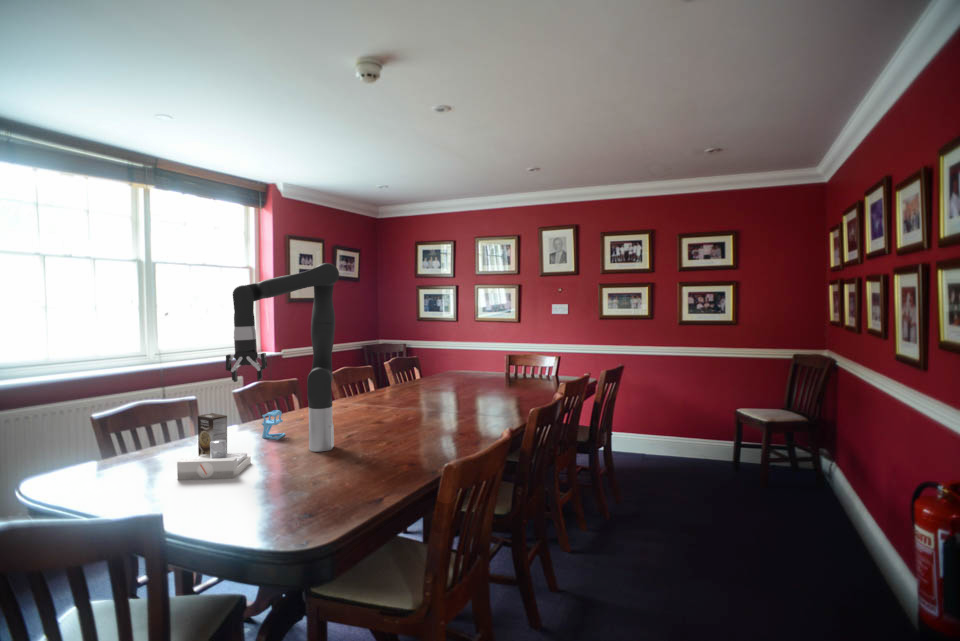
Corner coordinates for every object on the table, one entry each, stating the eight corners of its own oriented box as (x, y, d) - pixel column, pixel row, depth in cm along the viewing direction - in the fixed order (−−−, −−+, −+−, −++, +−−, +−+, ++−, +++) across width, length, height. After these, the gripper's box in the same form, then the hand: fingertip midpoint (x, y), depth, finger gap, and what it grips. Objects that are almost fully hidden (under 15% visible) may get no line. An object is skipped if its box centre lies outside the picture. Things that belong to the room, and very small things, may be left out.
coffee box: (197, 457, 191) (196, 415, 190) (213, 453, 197) (212, 412, 196) (212, 461, 187) (211, 418, 186) (228, 456, 192) (227, 414, 192)
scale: (250, 462, 184) (250, 446, 184) (233, 478, 168) (232, 461, 168) (199, 464, 183) (199, 448, 182) (176, 480, 166) (176, 462, 166)
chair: (267, 434, 224) (266, 408, 223) (285, 435, 224) (285, 408, 223) (259, 439, 216) (258, 412, 216) (278, 439, 216) (277, 412, 215)
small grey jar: (228, 455, 180) (228, 439, 180) (222, 460, 175) (222, 443, 175) (214, 456, 180) (213, 439, 180) (208, 460, 175) (207, 443, 175)
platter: (247, 456, 184) (247, 453, 184) (235, 466, 173) (235, 462, 173) (201, 457, 182) (201, 454, 182) (187, 467, 171) (187, 464, 171)
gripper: (267, 336, 192) (269, 378, 193) (229, 338, 191) (231, 380, 191) (261, 338, 185) (264, 381, 186) (221, 339, 183) (223, 383, 184)
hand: (247, 381), depth 189 cm, fingers open, 8 cm apart
